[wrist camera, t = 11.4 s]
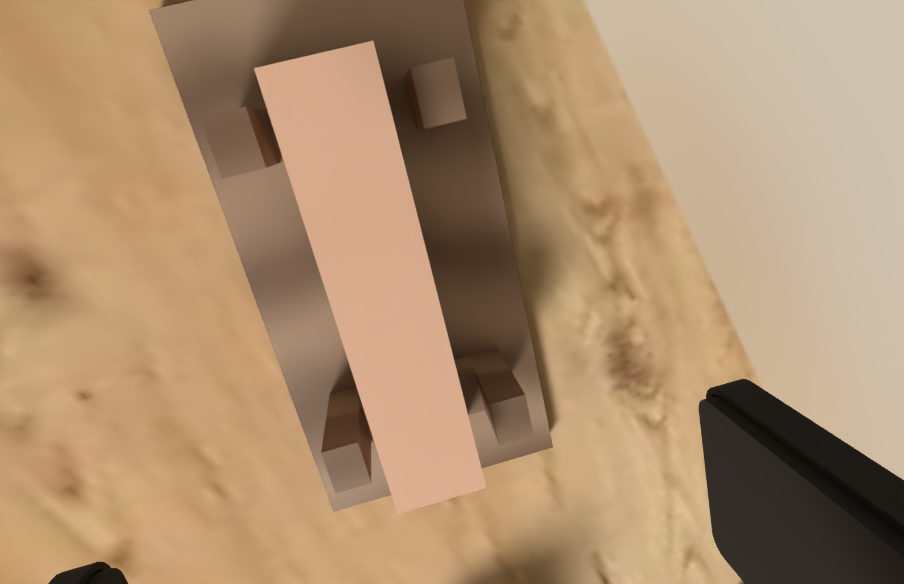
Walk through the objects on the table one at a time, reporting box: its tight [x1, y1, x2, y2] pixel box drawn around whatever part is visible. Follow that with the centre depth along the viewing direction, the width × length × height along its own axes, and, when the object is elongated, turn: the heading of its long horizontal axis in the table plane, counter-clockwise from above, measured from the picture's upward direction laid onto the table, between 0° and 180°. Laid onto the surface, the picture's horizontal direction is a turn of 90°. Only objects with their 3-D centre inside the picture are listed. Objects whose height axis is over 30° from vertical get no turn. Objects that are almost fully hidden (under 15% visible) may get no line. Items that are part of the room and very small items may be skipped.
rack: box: [149, 0, 553, 512], centre depth 23 cm, size 24×12×6 cm, turn 13°
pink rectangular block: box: [254, 41, 486, 514], centre depth 20 cm, size 16×4×5 cm, turn 13°
